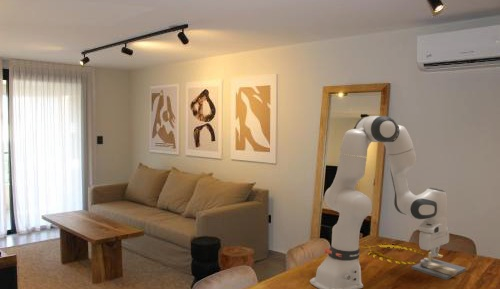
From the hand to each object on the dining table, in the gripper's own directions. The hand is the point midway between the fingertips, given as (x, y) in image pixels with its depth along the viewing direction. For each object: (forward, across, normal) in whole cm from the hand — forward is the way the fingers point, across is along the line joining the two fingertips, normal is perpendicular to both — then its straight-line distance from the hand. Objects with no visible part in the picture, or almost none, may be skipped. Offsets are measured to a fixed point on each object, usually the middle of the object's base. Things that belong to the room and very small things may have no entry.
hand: (434, 256), depth 170 cm
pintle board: (+10, -11, -3) cm, 15 cm away
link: (+8, -6, -1) cm, 10 cm away
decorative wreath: (+10, -15, -30) cm, 35 cm away
